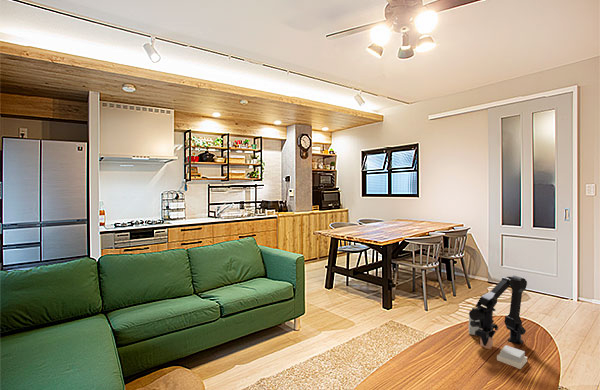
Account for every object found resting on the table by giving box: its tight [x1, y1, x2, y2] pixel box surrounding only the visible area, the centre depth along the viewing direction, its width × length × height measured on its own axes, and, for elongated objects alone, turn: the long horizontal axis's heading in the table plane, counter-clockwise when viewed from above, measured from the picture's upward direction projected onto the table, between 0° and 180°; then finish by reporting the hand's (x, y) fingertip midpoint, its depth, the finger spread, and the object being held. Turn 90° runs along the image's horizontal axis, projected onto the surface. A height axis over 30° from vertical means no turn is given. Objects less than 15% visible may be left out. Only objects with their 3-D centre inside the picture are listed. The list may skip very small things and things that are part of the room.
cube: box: [479, 337, 494, 350], centre depth 187 cm, size 5×5×5 cm
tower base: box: [496, 353, 528, 370], centre depth 172 cm, size 11×11×3 cm
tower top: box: [500, 344, 526, 363], centre depth 171 cm, size 9×9×3 cm
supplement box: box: [468, 310, 482, 336], centre depth 203 cm, size 7×7×13 cm
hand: (486, 344), depth 187 cm, fingers closed on cube, 5 cm apart
